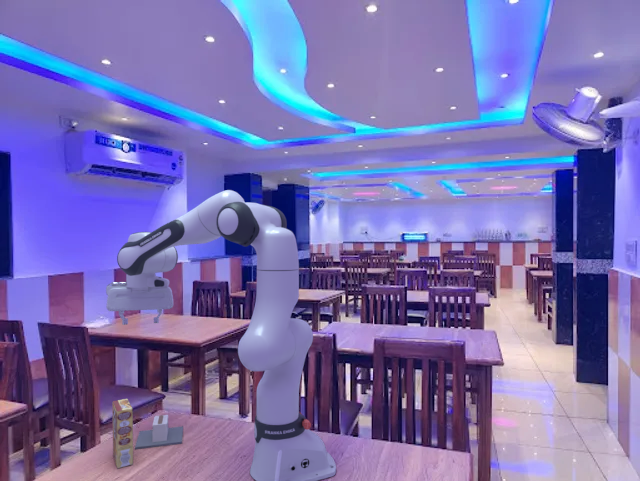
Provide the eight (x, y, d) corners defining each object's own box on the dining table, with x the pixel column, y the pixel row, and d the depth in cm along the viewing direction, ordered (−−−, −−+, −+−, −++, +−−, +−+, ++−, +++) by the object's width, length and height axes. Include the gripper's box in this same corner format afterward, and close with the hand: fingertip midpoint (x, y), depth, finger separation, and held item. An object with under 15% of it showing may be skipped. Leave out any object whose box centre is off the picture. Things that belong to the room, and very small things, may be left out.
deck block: (166, 440, 128) (166, 423, 128) (152, 442, 127) (152, 424, 127) (168, 430, 135) (168, 414, 135) (154, 432, 133) (154, 415, 134)
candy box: (133, 464, 115) (133, 407, 115) (116, 469, 113) (116, 411, 113) (127, 451, 122) (128, 397, 122) (111, 455, 120) (111, 400, 120)
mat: (183, 428, 138) (183, 426, 138) (182, 443, 127) (182, 441, 127) (139, 433, 134) (139, 431, 134) (134, 449, 124) (134, 447, 124)
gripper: (104, 283, 134) (103, 327, 134) (172, 281, 140) (172, 323, 140) (108, 281, 140) (107, 323, 140) (173, 279, 146) (173, 320, 146)
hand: (140, 323), depth 140 cm, fingers open, 8 cm apart
